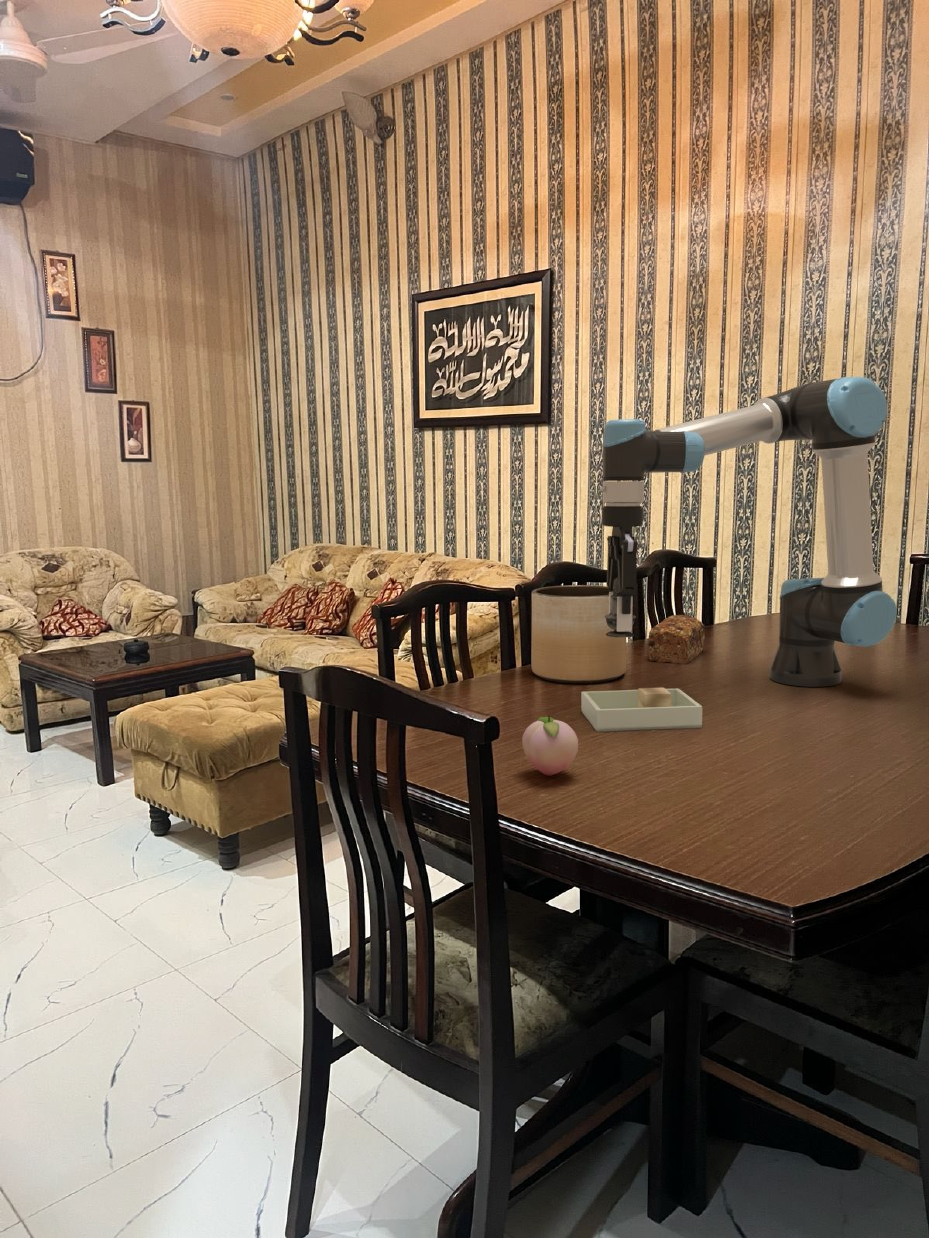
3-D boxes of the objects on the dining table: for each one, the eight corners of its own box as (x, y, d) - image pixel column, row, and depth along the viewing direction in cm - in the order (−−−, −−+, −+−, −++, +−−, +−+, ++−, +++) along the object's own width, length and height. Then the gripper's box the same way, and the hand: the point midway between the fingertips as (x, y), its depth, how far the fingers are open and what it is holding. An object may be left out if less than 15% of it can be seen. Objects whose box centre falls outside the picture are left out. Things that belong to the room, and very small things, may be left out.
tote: (678, 707, 180) (678, 688, 179) (701, 727, 166) (702, 706, 165) (581, 711, 179) (581, 691, 178) (596, 731, 164) (597, 710, 164)
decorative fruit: (587, 782, 138) (587, 718, 136) (537, 788, 135) (537, 723, 134) (563, 763, 146) (563, 704, 145) (516, 769, 144) (515, 708, 143)
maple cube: (663, 712, 175) (663, 687, 174) (670, 719, 170) (671, 693, 169) (638, 713, 175) (638, 688, 174) (644, 720, 170) (645, 694, 169)
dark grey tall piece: (635, 638, 166) (636, 573, 165) (603, 637, 168) (604, 573, 166) (635, 633, 172) (637, 570, 170) (605, 632, 173) (606, 570, 172)
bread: (666, 649, 242) (667, 612, 240) (706, 652, 237) (707, 614, 235) (646, 662, 225) (646, 623, 224) (688, 665, 220) (689, 625, 219)
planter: (617, 688, 198) (618, 598, 195) (520, 682, 205) (520, 595, 202) (632, 667, 219) (633, 585, 216) (543, 663, 226) (543, 584, 223)
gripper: (592, 503, 175) (590, 621, 179) (614, 506, 157) (611, 637, 160) (630, 503, 176) (627, 620, 179) (656, 506, 157) (653, 636, 161)
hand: (620, 628), depth 170 cm, fingers closed on dark grey tall piece, 6 cm apart
